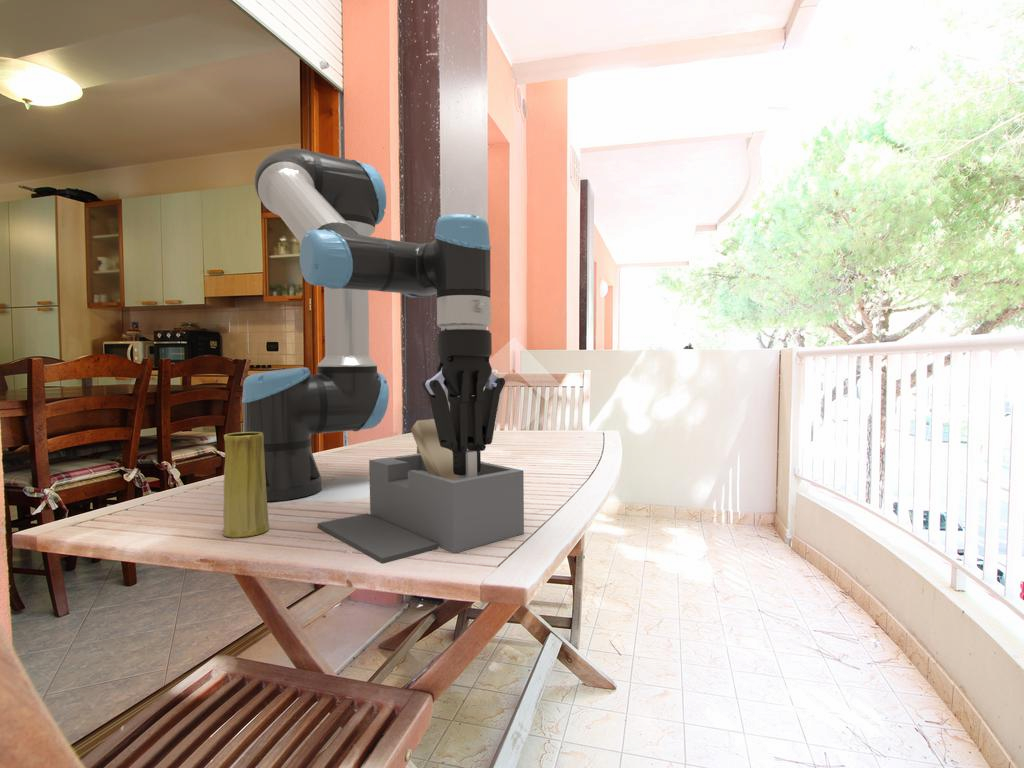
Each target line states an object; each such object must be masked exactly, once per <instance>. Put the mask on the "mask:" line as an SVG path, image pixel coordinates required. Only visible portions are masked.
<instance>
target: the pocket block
mask: <svg viewBox="0 0 1024 768" xmlns="http://www.w3.org/2000/svg"><path fill="white" fill-rule="evenodd" d="M368 461H369V463H368V466H369V469H368V471H369V473H368V475H369V511H370V512H369V514H370V515H372V516H374V517H377V518H379V519H381V520H384V521H386V522H388V523H391V524H393V525H395V526H398V527H400V528H402V529H405V530H407V531H409V532H412V533H414V534H416V535H419V536H421V537H423V538H426V539H428V540H430V541H433V542H435V543H437V544H438V548H439V547H440V548H441V549H444V550H446V551H448V552H450V553H453V554H457V553H460V552H463V551H466V550H470V549H474V548H477V547H481V546H484V545H489V544H492V543H495V542H500V541H502V540H506V539H510V538H513V537H517V536H521V535H524V534H525V514H524V513H525V509H524V507H525V503H524V502H525V501H524V496H525V493H524V490H525V489H524V487H525V486H524V483H525V481H524V470H523V469H519V468H513V467H508V466H504V465H500V464H499V465H498V464H494V463H489V462H484V461H480V462H481V464H480V465H481V469H480V472H478V473H477V476H474V477H468V478H462V479H457V480H451V479H447V478H443V477H439V476H436V475H432V474H428V471H427V469H426V466H425V464H424V461H423V459H422V456H421V454H417V453H413V454H404V455H399V456H398V455H397V456H390V457H383V458H376V459H369V460H368Z"/></svg>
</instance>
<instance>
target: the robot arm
mask: <svg viewBox="0 0 1024 768" xmlns="http://www.w3.org/2000/svg"><path fill="white" fill-rule="evenodd" d="M253 180H254V181H253V182H254V188H255V192H256V195H257V197H258V199H259V201H260V202H261V203H262V205H263V206H264V207H265V208H266V209H267V210H268V211H269V212H270V213H273V214H275V215H277V216H279V217H280V218H281V220H282V221H283V222H284V224H285V225H286V226H287V228H288V229H289V231H291V233H292V234H293V235H294V237H295V238H296V240H297V241H298V242H299V243H300V247H299V267H300V269H301V275H302V277H303V279H304V280H305V282H306V283H308V284H309V285H311V286H317V287H324V288H323V290H324V291H323V295H324V296H323V297H324V298H323V299H324V300H323V303H324V304H323V305H324V306H323V307H324V310H323V311H324V350H325V351H324V357H323V359H322V360H321V361H319V363H318V364H317V373H316V374H311V370H310V369H309V367H307V366H305V367H293V368H285V369H276V370H275V369H274V370H269V371H264V372H258V373H253V374H250V375H248V376H247V377H246V378H245V379H244V380H243V384H242V397H241V398H242V399H241V403H242V414H243V415H242V416H243V418H242V419H243V421H242V422H243V432H262V433H263V435H264V458H265V477H266V494H267V502H275V501H276V502H278V501H286V500H287V501H288V500H293V499H298V498H304V497H308V496H311V495H314V494H317V493H318V492H320V491H321V490H322V489H323V487H322V486H323V484H322V476H321V473H320V470H319V468H318V465H317V462H316V460H315V459H316V458H315V457H314V453H313V452H312V435H317V434H329V433H339V432H359V431H361V430H362V431H363V430H369V429H373V428H376V427H377V426H378V425H379V424H380V423H381V422H382V420H383V419H384V418H385V415H386V413H387V410H388V406H389V398H390V391H389V384H388V381H387V378H386V376H385V375H384V374H382V373H380V372H378V364H377V363H376V362H375V361H374V360H373V359H372V358H371V356H370V318H369V317H370V316H369V315H370V314H369V312H370V310H369V309H370V308H369V306H370V305H369V304H370V303H369V301H370V300H369V291H373V292H376V291H377V292H382V293H396V294H402V295H404V296H405V297H408V298H428V297H430V296H433V295H436V325H437V327H439V328H441V330H439V331H438V333H437V355H438V357H439V364H438V367H437V370H436V372H437V373H436V374H435V375H434V376H432V377H431V378H430V379H424V380H423V381H422V385H421V386H422V387H423V389H424V391H425V392H426V394H427V396H428V398H429V402H430V407H431V410H432V411H431V412H432V416H433V419H434V421H435V425H436V429H437V434H438V438H439V442H440V446H441V447H443V448H447V449H449V450H451V451H452V452H453V472H454V474H456V475H457V479H462V478H468V477H474V476H477V473H478V472H480V469H481V465H480V464H481V462H482V461H481V460H482V459H481V457H482V456H481V455H482V454H481V452H484V451H485V450H486V446H487V445H491V444H492V443H493V438H494V433H495V425H496V421H497V414H498V408H499V401H500V396H501V393H502V391H503V389H504V387H505V385H506V380H505V378H503V377H498V376H497V375H495V374H494V373H493V368H492V366H491V364H490V357H491V355H492V353H493V351H492V350H493V349H492V348H493V347H492V332H491V331H490V330H488V328H489V327H491V325H492V303H491V302H492V301H491V285H492V284H491V251H492V246H491V242H490V240H491V239H490V229H489V228H490V227H489V223H488V222H487V220H486V219H485V218H483V217H481V216H480V215H474V214H470V213H451V214H446V215H443V216H440V217H439V218H438V219H437V221H436V223H435V229H434V236H433V237H434V240H432V241H429V242H427V243H417V242H410V241H401V240H395V239H387V238H382V237H381V238H380V237H375V236H372V235H373V234H374V233H375V232H376V226H377V225H379V224H380V223H381V222H382V221H383V219H384V217H385V214H386V212H385V210H386V209H387V192H386V186H385V182H384V180H383V177H382V176H381V174H380V172H379V171H378V170H377V168H375V167H374V166H372V165H371V164H366V163H364V162H360V161H359V160H356V159H348V158H342V157H339V156H334V155H330V154H326V153H321V152H315V151H311V150H309V149H304V148H294V147H292V148H284V149H280V150H277V151H274V152H273V153H271V154H269V155H267V156H266V157H264V158H263V160H262V161H261V162H260V163H259V164H258V166H257V168H256V170H255V173H254V179H253ZM445 389H446V390H447V393H446V392H445ZM480 461H481V462H480Z"/></svg>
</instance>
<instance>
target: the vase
mask: <svg viewBox="0 0 1024 768" xmlns="http://www.w3.org/2000/svg"><path fill="white" fill-rule="evenodd" d="M223 439H224V469H223V470H224V471H223V472H224V473H223V530H222V534H223V536H225V537H227V538H231V539H232V538H234V539H237V538H240V539H241V538H248V537H249V538H250V537H255V536H258V535H261V534H264V533H266V532H268V530H269V529H270V525H269V524H270V523H269V515H268V514H269V511H268V510H269V509H268V501H267V494H266V477H265V458H264V435H263V433H262V432H244V431H238V432H231V433H226V434H223Z"/></svg>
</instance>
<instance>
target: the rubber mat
mask: <svg viewBox="0 0 1024 768" xmlns="http://www.w3.org/2000/svg"><path fill="white" fill-rule="evenodd" d="M317 528H318V529H320V530H322V531H324V532H325V533H327V534H329V535H331V536H332V537H334V538H337V539H338V540H340V541H342V542H343V543H345V544H347V545H348V546H351V547H352V548H355V549H356V550H358V551H359V552H361V553H363V554H365V555H367V556H369V557H371V558H372V559H374V560H375V561H377V562H380V563H381V564H385V563H388V562H392V561H396V560H400V559H403V558H406V557H407V558H408V557H410V556H411V557H412V556H415V555H418V554H421V553H422V554H423V553H425V552H429V551H432V550H436V549H438V548H439V546H438V544H437V543H435V542H433V541H430V540H428V539H426V538H423V537H421V536H419V535H416V534H414V533H412V532H409V531H407V530H405V529H402V528H400V527H398V526H395V525H393V524H391V523H388V522H386V521H384V520H381V519H379V518H377V517H374V516H372V515H370V513H368V512H367V513H361V514H356V515H352V516H346V517H342V518H337V519H334V520H333V519H332V520H327V521H323V522H318V523H317Z"/></svg>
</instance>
